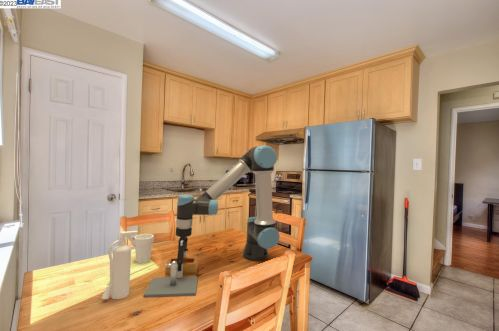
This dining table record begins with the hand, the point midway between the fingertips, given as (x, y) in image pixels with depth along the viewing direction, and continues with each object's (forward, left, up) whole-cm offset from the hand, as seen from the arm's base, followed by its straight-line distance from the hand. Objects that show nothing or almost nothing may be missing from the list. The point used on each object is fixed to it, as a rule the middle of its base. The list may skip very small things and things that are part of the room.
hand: (181, 270), depth 114 cm
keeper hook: (+3, +13, 0) cm, 13 cm away
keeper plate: (+2, +13, -1) cm, 13 cm away
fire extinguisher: (+22, +18, -1) cm, 28 cm away
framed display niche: (0, 0, -1) cm, 1 cm away
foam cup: (+22, -15, -1) cm, 26 cm away
